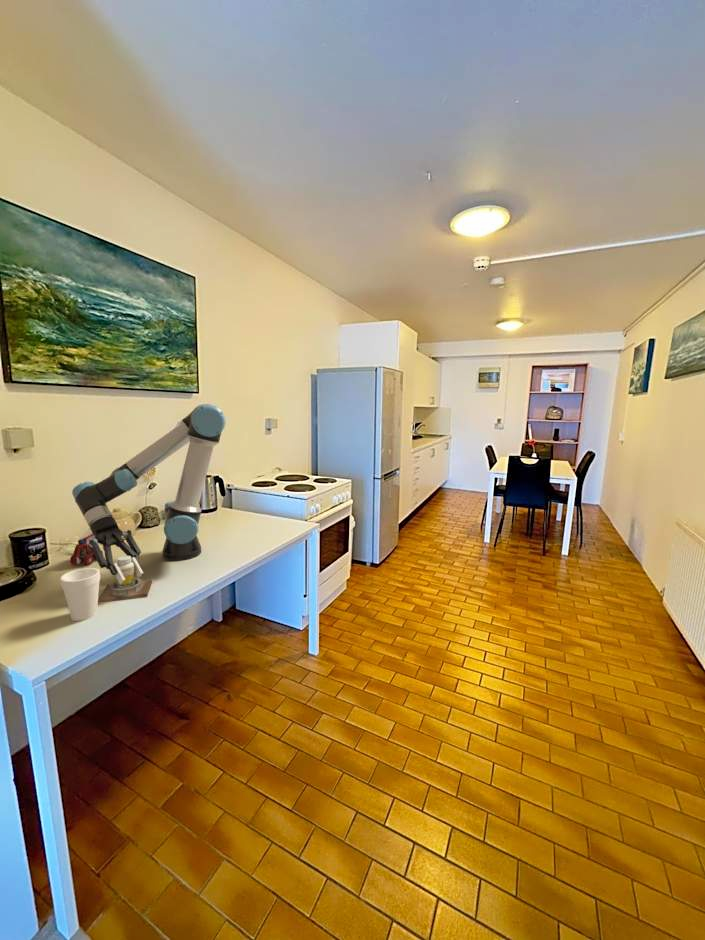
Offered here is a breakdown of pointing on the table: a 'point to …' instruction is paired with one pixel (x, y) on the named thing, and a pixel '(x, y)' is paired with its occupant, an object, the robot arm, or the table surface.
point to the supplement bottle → (126, 571)
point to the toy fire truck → (83, 552)
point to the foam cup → (81, 592)
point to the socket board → (125, 591)
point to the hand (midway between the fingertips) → (131, 578)
